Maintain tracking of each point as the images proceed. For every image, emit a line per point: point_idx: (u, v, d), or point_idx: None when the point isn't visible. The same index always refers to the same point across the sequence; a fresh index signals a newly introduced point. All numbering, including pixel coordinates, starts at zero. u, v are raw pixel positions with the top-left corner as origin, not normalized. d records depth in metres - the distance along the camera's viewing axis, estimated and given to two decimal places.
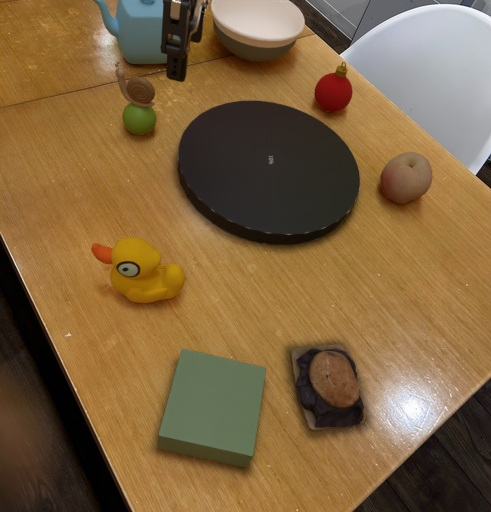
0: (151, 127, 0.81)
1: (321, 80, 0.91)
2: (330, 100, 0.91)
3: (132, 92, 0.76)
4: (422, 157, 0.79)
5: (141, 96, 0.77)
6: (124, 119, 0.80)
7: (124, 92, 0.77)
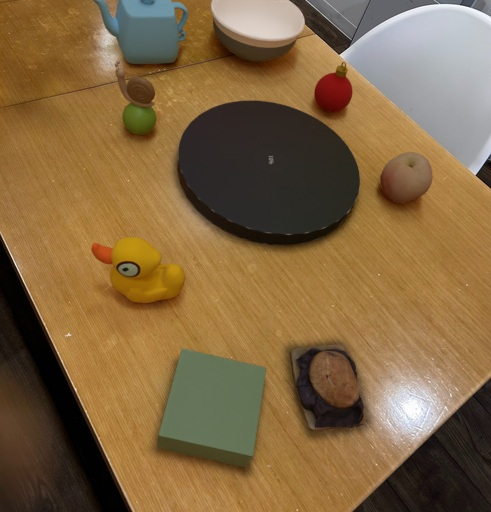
0: (151, 127, 0.81)
1: (321, 80, 0.91)
2: (330, 100, 0.91)
3: (132, 92, 0.76)
4: (422, 157, 0.79)
5: (141, 96, 0.77)
6: (124, 119, 0.80)
7: (124, 92, 0.77)
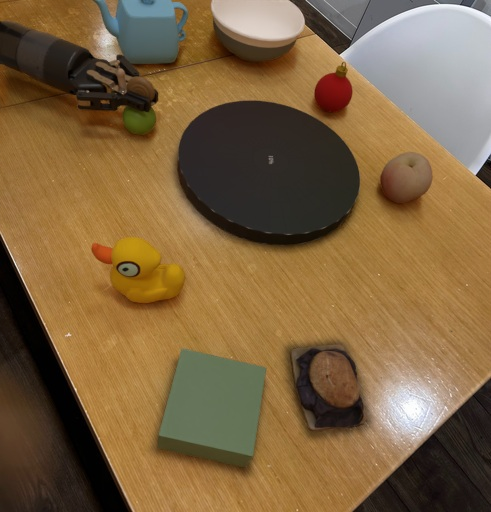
0: (151, 127, 0.81)
1: (321, 80, 0.91)
2: (330, 100, 0.91)
3: None
4: (422, 157, 0.79)
5: None
6: (124, 119, 0.80)
7: None
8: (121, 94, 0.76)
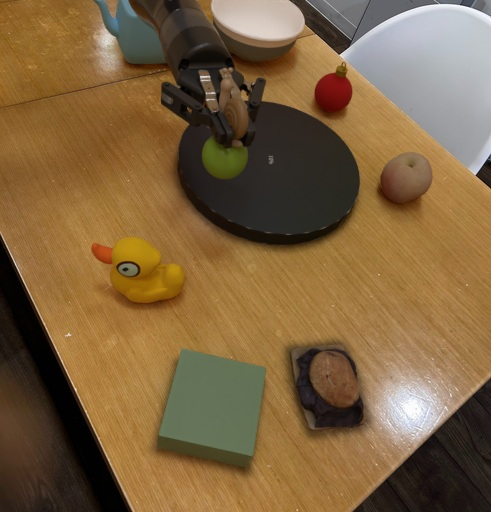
0: (224, 172, 0.57)
1: (321, 80, 0.91)
2: (330, 100, 0.91)
3: None
4: (422, 157, 0.79)
5: None
6: None
7: (220, 111, 0.56)
8: (209, 110, 0.55)
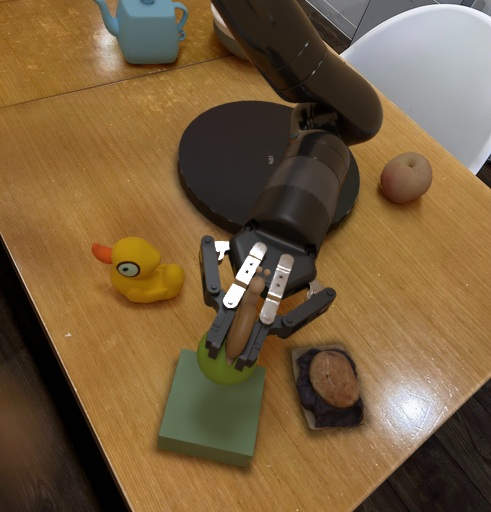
0: (206, 375, 0.42)
1: None
2: None
3: (234, 317, 0.40)
4: (422, 157, 0.79)
5: (228, 333, 0.39)
6: None
7: (240, 307, 0.41)
8: None
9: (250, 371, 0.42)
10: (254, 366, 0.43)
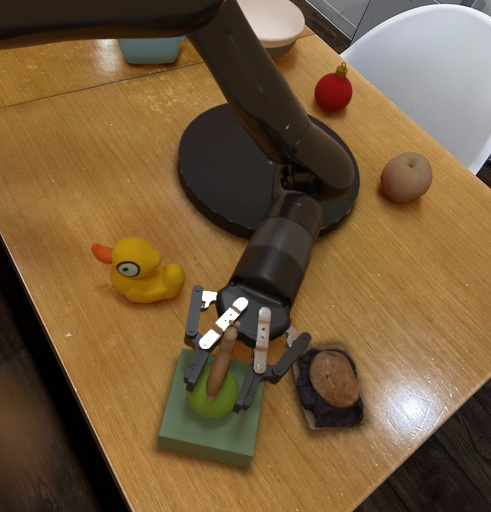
0: (194, 410, 0.50)
1: (321, 80, 0.91)
2: (330, 100, 0.91)
3: None
4: (422, 157, 0.79)
5: None
6: None
7: (219, 352, 0.49)
8: (200, 341, 0.49)
9: (231, 406, 0.50)
10: (234, 401, 0.50)
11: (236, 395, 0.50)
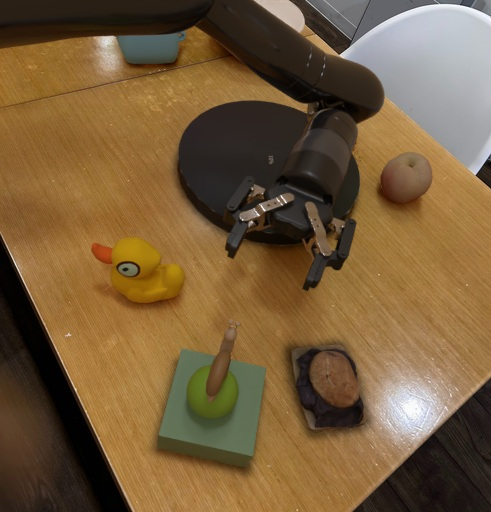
0: (194, 410, 0.50)
1: None
2: None
3: None
4: (422, 157, 0.79)
5: None
6: None
7: (219, 352, 0.49)
8: None
9: (231, 406, 0.50)
10: (234, 401, 0.50)
11: (236, 395, 0.50)
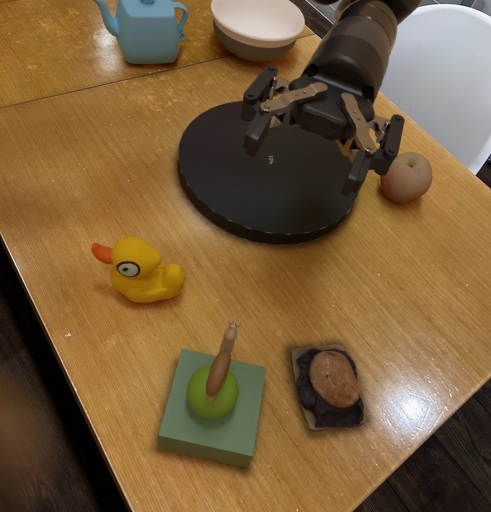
0: (194, 410, 0.50)
1: None
2: None
3: None
4: (422, 157, 0.79)
5: None
6: None
7: (219, 352, 0.49)
8: None
9: (231, 406, 0.50)
10: (234, 401, 0.50)
11: (236, 395, 0.50)
